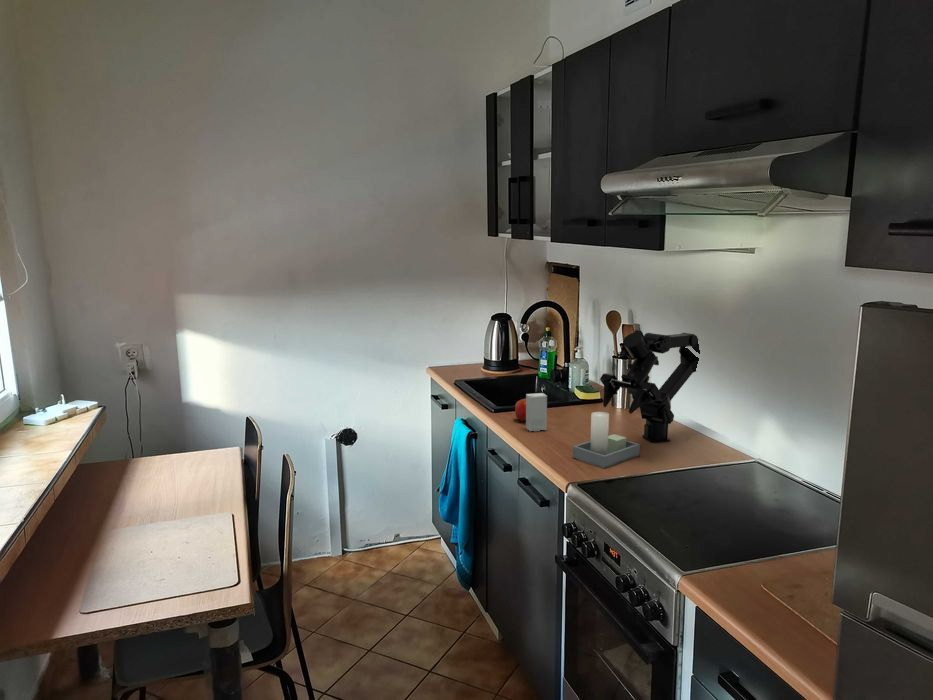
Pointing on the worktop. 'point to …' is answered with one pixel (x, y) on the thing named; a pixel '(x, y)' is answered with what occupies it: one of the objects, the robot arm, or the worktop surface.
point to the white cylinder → (599, 432)
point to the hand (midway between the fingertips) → (616, 409)
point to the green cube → (616, 443)
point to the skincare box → (536, 412)
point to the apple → (521, 409)
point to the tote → (608, 460)
